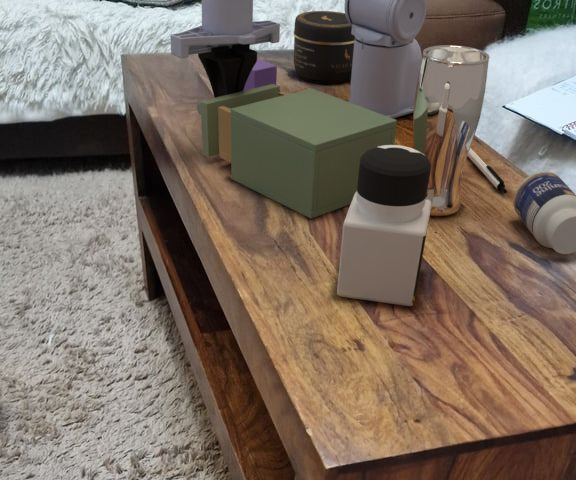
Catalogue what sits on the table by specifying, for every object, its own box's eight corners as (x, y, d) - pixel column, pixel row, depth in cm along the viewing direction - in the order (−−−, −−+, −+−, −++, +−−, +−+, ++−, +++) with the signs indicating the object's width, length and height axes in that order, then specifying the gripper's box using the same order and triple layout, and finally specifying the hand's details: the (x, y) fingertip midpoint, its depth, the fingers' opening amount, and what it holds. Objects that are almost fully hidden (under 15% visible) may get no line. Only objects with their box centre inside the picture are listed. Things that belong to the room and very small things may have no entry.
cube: (257, 85, 114) (257, 58, 112) (276, 93, 112) (277, 65, 110) (235, 90, 112) (235, 63, 110) (254, 98, 110) (254, 70, 107)
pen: (500, 195, 89) (503, 185, 88) (447, 136, 102) (449, 127, 101) (508, 195, 89) (510, 185, 88) (454, 136, 102) (455, 127, 101)
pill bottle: (567, 168, 81) (605, 207, 74) (554, 218, 85) (589, 259, 78) (518, 169, 81) (552, 209, 74) (507, 219, 84) (538, 262, 78)
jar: (322, 89, 114) (326, 30, 109) (278, 72, 119) (280, 15, 114) (369, 78, 119) (375, 21, 114) (325, 62, 124) (329, 7, 119)
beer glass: (468, 199, 88) (497, 49, 77) (456, 222, 83) (485, 67, 73) (409, 189, 89) (429, 41, 79) (393, 211, 85) (413, 57, 74)
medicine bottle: (413, 308, 70) (436, 174, 62) (335, 297, 71) (348, 163, 62) (419, 272, 75) (442, 143, 67) (347, 262, 76) (360, 133, 67)
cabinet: (231, 179, 89) (230, 108, 84) (308, 155, 95) (312, 87, 90) (311, 218, 83) (315, 144, 77) (388, 190, 89) (397, 120, 83)
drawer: (181, 144, 94) (178, 91, 90) (250, 125, 100) (250, 74, 96) (271, 188, 86) (272, 132, 82) (341, 165, 91) (346, 111, 87)
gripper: (197, -5, 78) (200, 136, 88) (300, -16, 86) (292, 115, 95) (156, -18, 82) (163, 119, 91) (258, -28, 89) (255, 99, 99)
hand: (226, 116), depth 93 cm, fingers closed, pressing on drawer
